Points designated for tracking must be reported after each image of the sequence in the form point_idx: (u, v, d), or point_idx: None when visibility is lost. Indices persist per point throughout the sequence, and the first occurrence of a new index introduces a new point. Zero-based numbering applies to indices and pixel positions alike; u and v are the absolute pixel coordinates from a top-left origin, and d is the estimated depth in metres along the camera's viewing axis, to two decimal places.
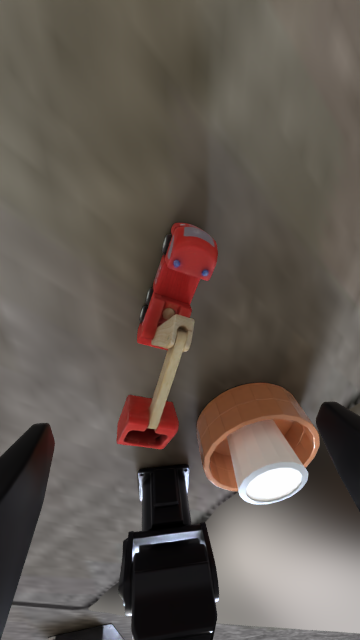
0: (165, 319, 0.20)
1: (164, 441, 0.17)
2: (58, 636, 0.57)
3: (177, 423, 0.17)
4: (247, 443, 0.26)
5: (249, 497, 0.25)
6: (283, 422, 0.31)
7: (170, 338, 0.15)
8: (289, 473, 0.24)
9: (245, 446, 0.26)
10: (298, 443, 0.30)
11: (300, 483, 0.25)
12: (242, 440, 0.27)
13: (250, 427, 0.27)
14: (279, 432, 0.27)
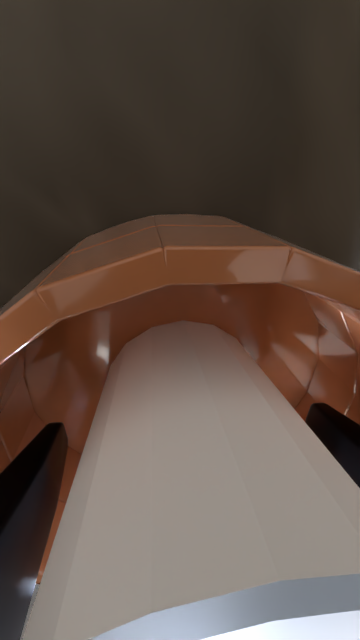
0: None
1: None
2: None
3: None
4: (112, 435, 0.05)
5: None
6: (285, 377, 0.11)
7: None
8: (332, 622, 0.04)
9: (103, 447, 0.05)
10: None
11: None
12: (107, 421, 0.06)
13: (152, 369, 0.07)
14: (271, 389, 0.07)
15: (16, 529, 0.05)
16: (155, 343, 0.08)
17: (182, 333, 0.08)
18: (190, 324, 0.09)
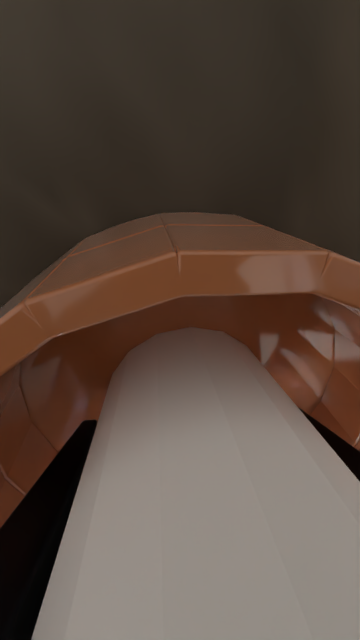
0: None
1: None
2: None
3: None
4: (114, 462, 0.05)
5: None
6: (298, 386, 0.10)
7: None
8: None
9: (104, 477, 0.05)
10: None
11: None
12: (108, 443, 0.05)
13: (158, 383, 0.06)
14: (290, 406, 0.06)
15: None
16: (161, 353, 0.07)
17: (190, 342, 0.07)
18: (197, 331, 0.08)
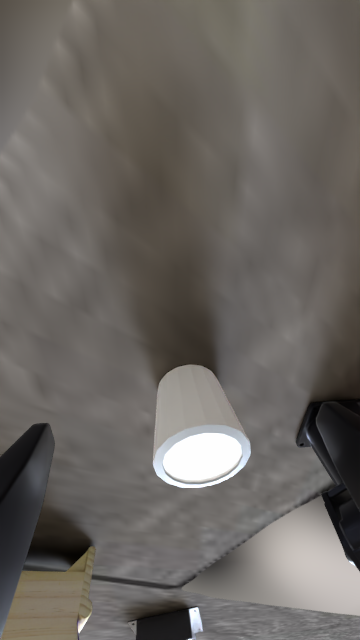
0: None
1: None
2: (139, 620, 0.51)
3: None
4: (170, 405, 0.19)
5: (171, 477, 0.18)
6: None
7: None
8: (222, 442, 0.17)
9: (168, 408, 0.19)
10: None
11: (241, 457, 0.18)
12: (166, 401, 0.20)
13: (179, 385, 0.20)
14: (218, 392, 0.20)
15: None
16: (179, 375, 0.21)
17: (189, 371, 0.22)
18: (192, 366, 0.22)
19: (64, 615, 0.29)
